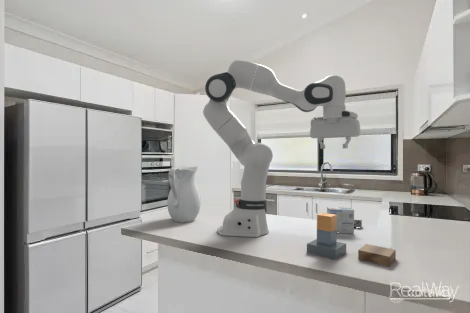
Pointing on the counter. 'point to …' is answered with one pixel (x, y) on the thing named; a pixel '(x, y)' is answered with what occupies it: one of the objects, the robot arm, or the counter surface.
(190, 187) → the pitcher
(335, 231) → the orange and blue block
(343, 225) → the light bulb box
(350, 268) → the counter surface
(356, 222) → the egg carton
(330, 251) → the stand
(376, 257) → the stand
